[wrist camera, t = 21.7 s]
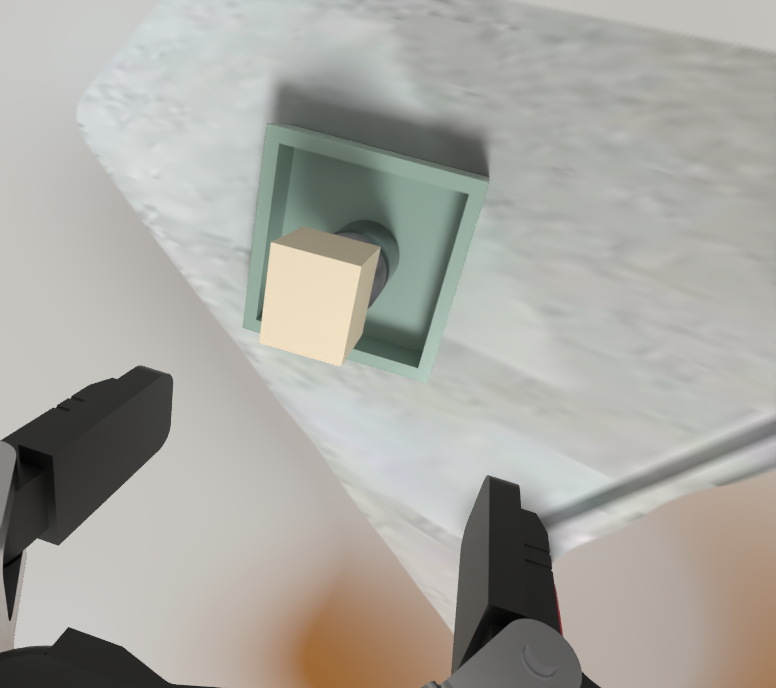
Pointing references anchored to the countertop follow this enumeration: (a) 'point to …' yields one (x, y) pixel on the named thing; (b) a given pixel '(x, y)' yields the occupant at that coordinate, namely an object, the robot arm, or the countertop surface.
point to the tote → (385, 206)
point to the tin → (387, 256)
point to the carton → (317, 294)
